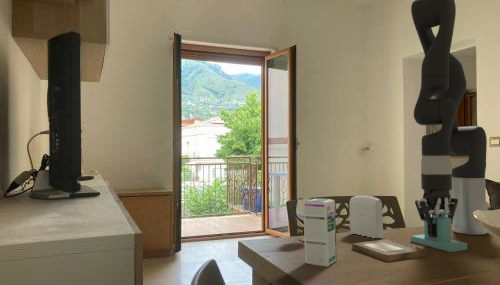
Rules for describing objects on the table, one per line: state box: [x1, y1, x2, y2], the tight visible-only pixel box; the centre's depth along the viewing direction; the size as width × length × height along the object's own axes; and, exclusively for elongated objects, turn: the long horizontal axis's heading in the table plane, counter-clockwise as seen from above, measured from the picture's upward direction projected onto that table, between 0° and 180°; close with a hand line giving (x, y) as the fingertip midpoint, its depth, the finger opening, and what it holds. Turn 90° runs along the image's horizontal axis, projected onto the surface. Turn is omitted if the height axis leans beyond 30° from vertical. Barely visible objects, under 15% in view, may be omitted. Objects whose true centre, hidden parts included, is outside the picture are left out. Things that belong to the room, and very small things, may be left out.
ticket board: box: [351, 238, 427, 262], centre depth 99 cm, size 12×13×2 cm
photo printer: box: [348, 194, 384, 239], centre depth 119 cm, size 10×4×12 cm, turn 39°
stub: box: [410, 214, 468, 253], centre depth 106 cm, size 6×13×8 cm, turn 23°
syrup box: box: [303, 198, 338, 267], centre depth 91 cm, size 6×6×14 cm
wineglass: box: [295, 197, 314, 240], centre depth 114 cm, size 6×6×12 cm
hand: (437, 236), depth 106 cm, fingers closed on stub, 3 cm apart
